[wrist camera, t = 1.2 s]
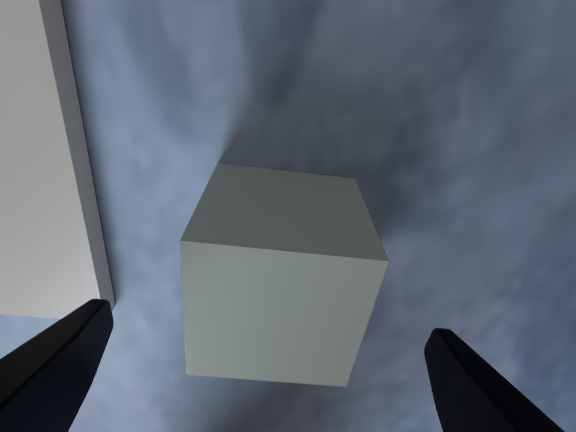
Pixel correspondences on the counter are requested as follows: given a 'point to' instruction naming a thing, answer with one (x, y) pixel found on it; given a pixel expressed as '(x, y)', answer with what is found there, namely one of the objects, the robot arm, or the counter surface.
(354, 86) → the counter surface
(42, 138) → the build base
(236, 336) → the sage cube
